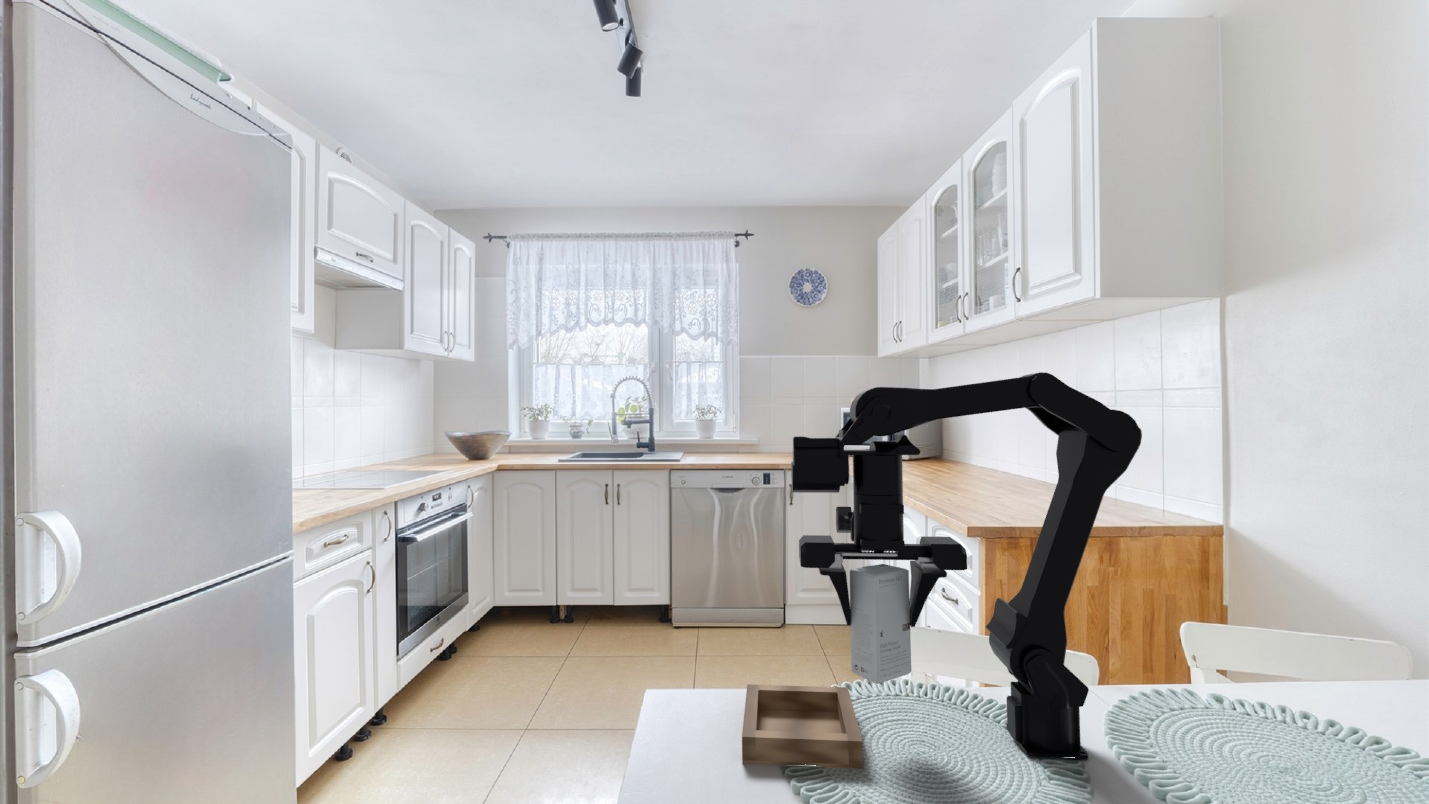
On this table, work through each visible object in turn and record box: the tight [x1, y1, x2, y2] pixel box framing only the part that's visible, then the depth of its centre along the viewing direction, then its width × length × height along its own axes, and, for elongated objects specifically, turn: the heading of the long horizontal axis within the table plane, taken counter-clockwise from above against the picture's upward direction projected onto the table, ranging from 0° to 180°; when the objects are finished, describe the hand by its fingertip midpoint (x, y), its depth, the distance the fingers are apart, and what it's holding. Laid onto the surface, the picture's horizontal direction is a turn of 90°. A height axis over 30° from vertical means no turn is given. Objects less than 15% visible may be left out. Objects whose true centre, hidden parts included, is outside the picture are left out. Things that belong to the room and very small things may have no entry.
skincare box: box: [849, 563, 912, 685], centre depth 71 cm, size 6×4×12 cm
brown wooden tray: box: [741, 684, 864, 770], centre depth 71 cm, size 13×13×3 cm
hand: (880, 625), depth 71 cm, fingers closed on skincare box, 7 cm apart
